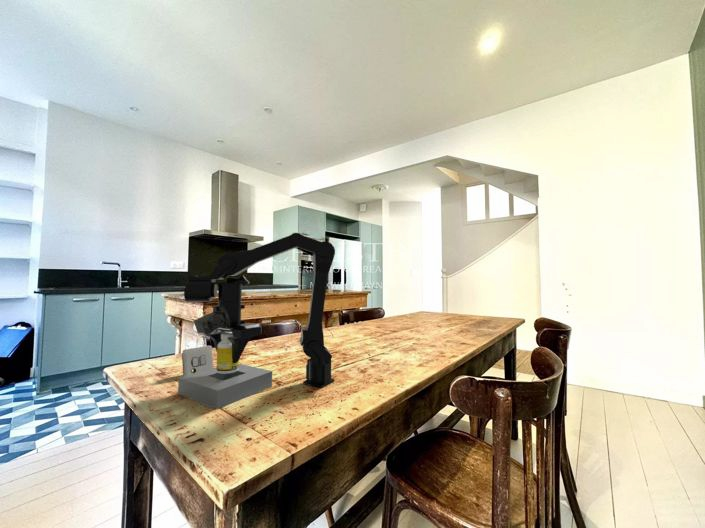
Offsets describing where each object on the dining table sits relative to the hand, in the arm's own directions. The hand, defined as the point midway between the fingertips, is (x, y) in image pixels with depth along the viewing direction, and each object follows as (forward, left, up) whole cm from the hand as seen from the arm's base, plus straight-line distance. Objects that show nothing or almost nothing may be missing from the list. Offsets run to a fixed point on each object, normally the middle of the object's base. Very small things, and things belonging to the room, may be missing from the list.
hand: (228, 361), depth 73 cm
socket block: (0, 0, -7) cm, 7 cm away
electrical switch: (+19, -3, -8) cm, 21 cm away
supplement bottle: (0, 0, -3) cm, 3 cm away
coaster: (-21, +4, -8) cm, 23 cm away
